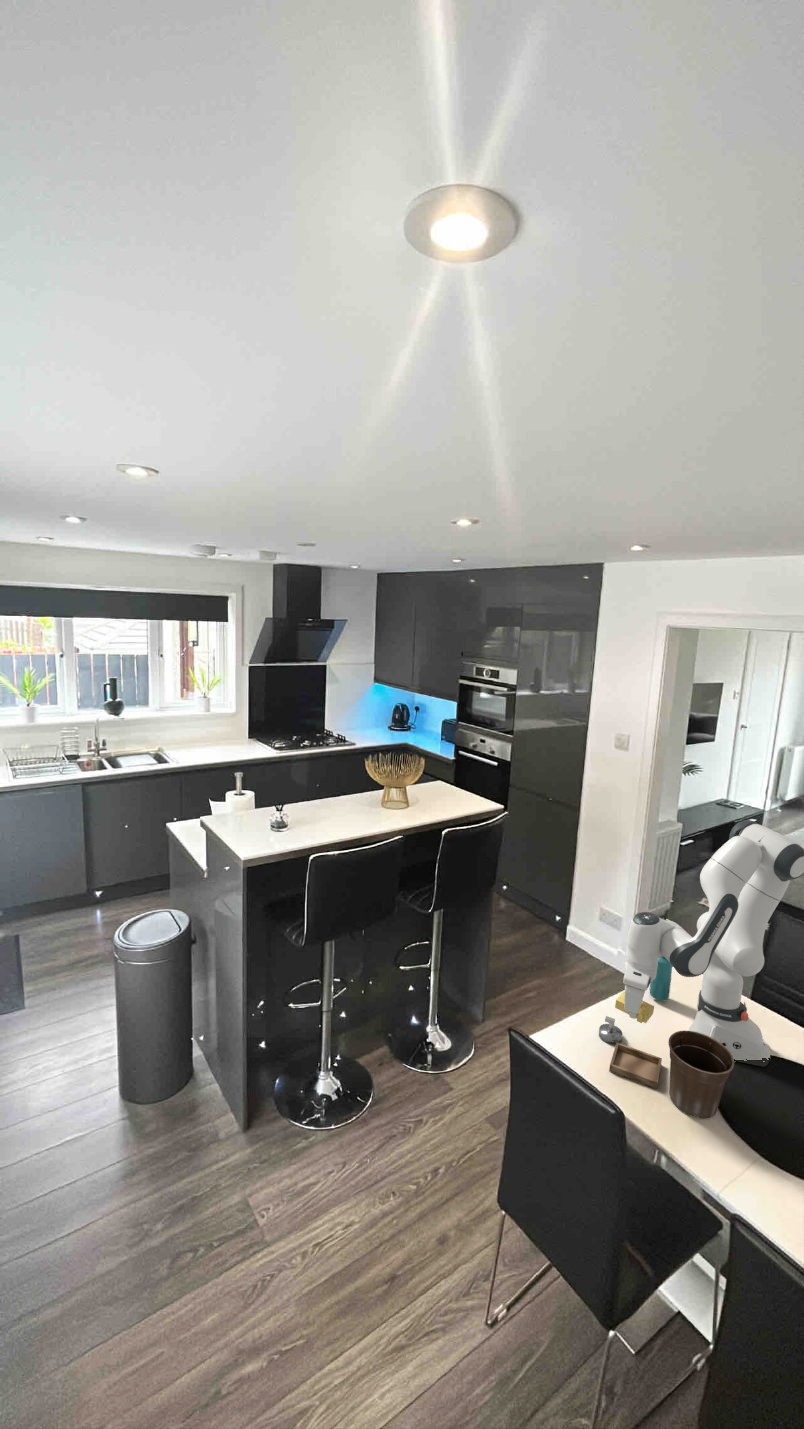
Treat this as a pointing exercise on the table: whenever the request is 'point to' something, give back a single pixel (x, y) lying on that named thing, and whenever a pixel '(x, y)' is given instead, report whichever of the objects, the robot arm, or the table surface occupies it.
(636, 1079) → the tray
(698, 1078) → the plant pot
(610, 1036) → the silver knob
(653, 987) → the beverage bottle
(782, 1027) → the table surface
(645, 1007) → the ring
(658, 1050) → the table surface
